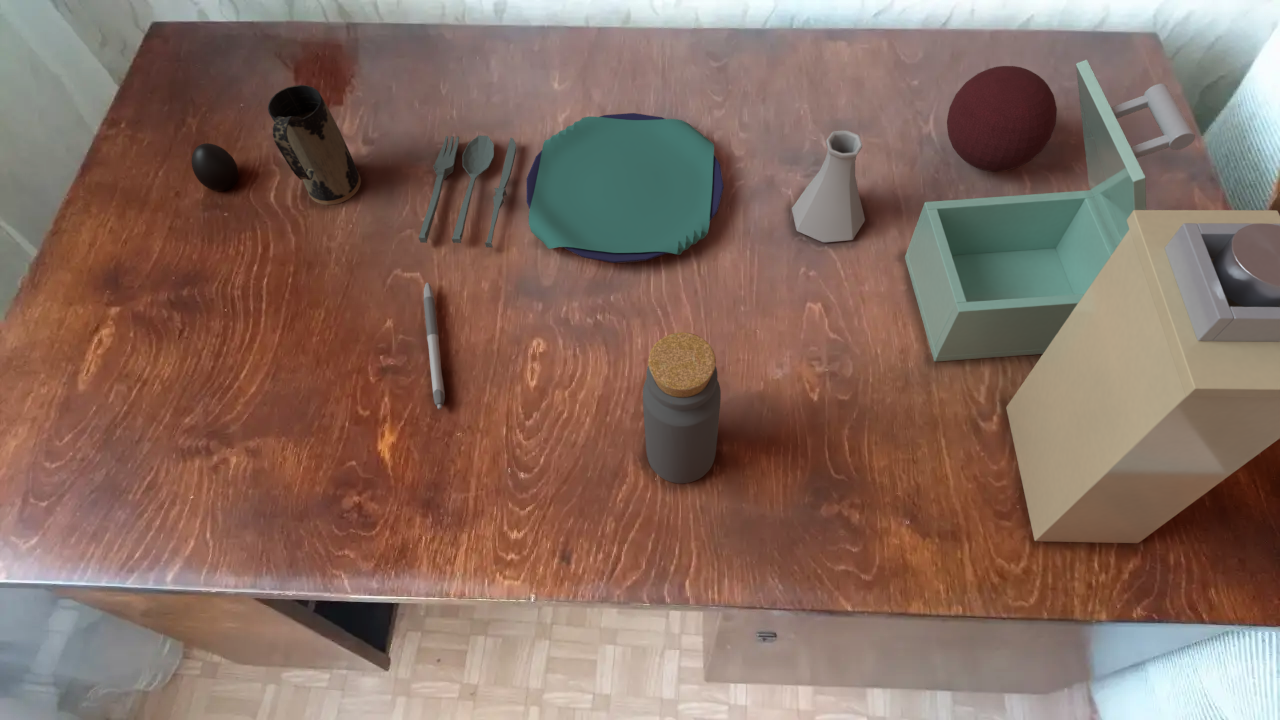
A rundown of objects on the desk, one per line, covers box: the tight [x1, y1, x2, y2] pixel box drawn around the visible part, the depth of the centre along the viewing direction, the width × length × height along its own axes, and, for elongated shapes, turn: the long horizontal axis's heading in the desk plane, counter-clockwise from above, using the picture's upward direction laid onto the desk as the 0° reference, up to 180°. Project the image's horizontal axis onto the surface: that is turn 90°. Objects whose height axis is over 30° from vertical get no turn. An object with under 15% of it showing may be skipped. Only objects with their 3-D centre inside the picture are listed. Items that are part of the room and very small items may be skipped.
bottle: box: [642, 332, 722, 484], centre depth 67 cm, size 6×6×15 cm
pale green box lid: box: [1075, 59, 1196, 248], centre depth 66 cm, size 16×12×5 cm
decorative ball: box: [946, 65, 1058, 172], centre depth 85 cm, size 10×10×10 cm
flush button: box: [1212, 223, 1280, 307], centre depth 47 cm, size 4×4×2 cm
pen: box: [423, 281, 446, 411], centre depth 79 cm, size 1×14×1 cm, turn 12°
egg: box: [191, 142, 239, 192], centre depth 89 cm, size 4×4×5 cm
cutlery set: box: [418, 112, 725, 264], centre depth 87 cm, size 20×30×2 cm, turn 85°
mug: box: [267, 84, 362, 206], centre depth 85 cm, size 8×6×12 cm
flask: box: [791, 129, 866, 243], centre depth 82 cm, size 7×7×10 cm
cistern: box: [1005, 209, 1280, 544], centre depth 59 cm, size 9×13×27 cm
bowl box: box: [904, 189, 1116, 363], centre depth 76 cm, size 15×12×8 cm
